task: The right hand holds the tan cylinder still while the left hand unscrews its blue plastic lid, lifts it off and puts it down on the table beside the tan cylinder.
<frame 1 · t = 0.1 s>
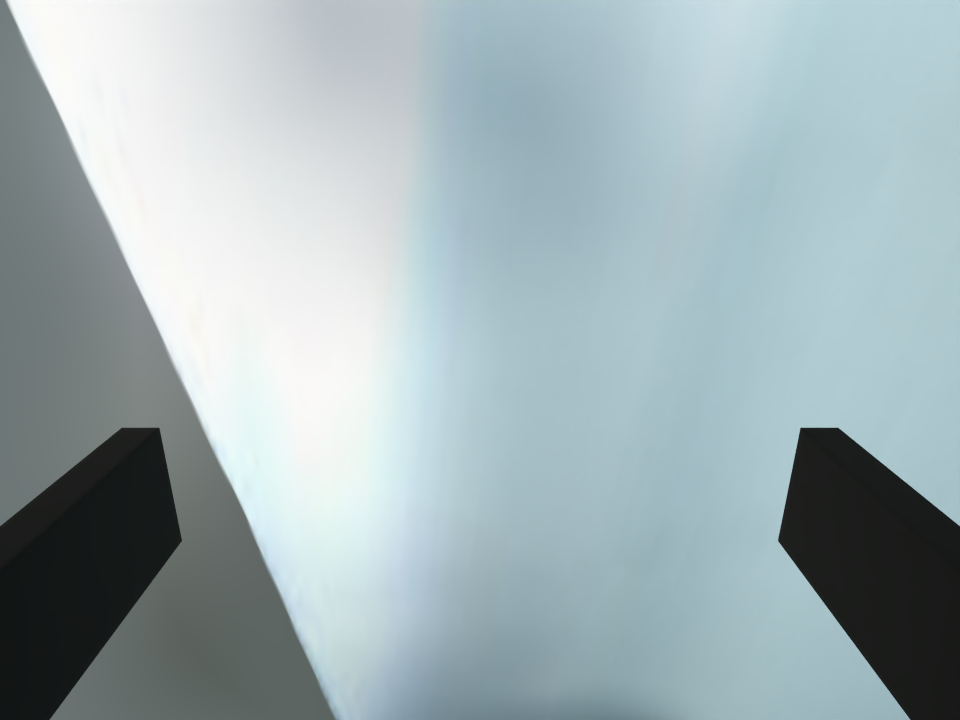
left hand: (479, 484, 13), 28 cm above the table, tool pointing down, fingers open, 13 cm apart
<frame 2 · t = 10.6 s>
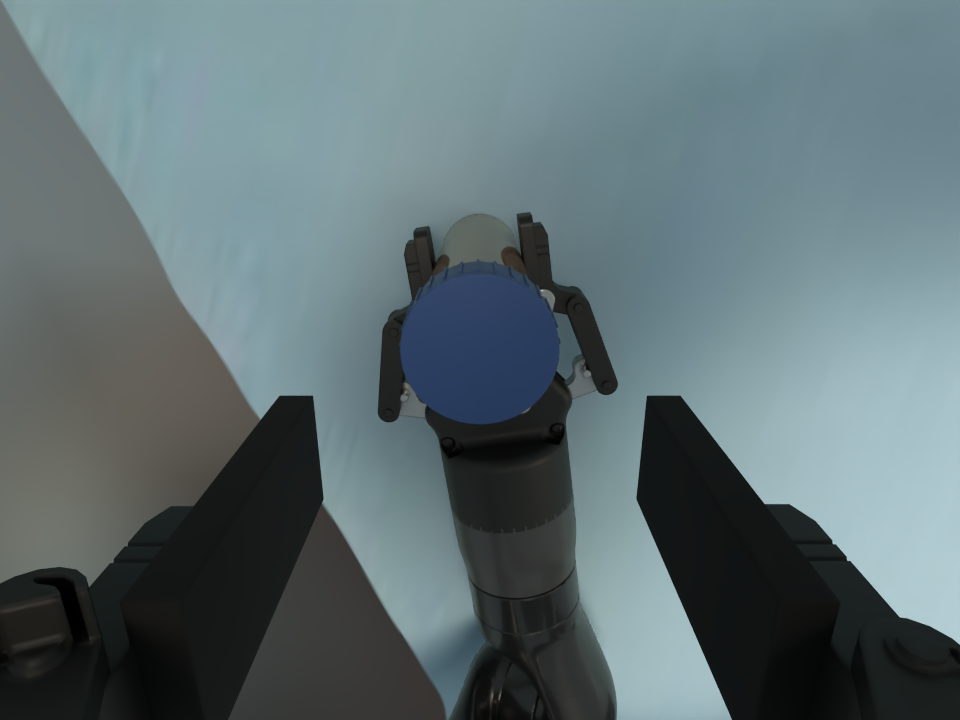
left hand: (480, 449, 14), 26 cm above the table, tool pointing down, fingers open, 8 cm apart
right hand: (472, 223, 32), fingers closed on tan cylinder, 4 cm apart
tan cylinder: (479, 252, 39), on the table, touching right hand
lid: (479, 349, 21), point 19 cm above the table, screwed on, not yet turned
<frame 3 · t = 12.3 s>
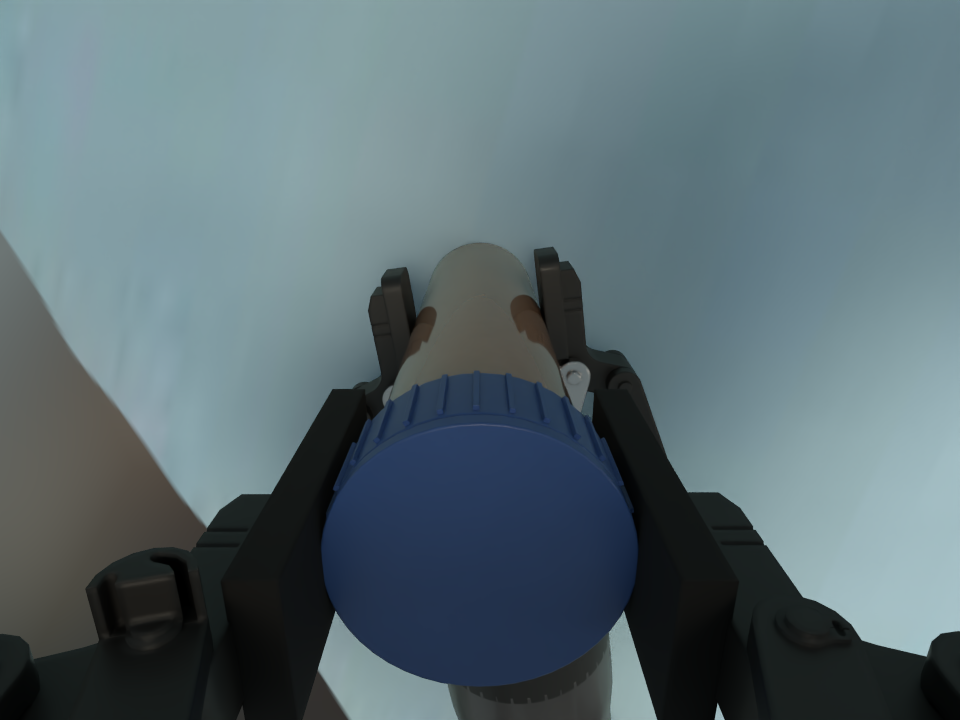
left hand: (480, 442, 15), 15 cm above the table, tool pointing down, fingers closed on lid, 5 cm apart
tan cylinder: (480, 294, 28), on the table, touching right hand
lid: (479, 553, 11), point 19 cm above the table, screwed on, not yet turned, touching left hand
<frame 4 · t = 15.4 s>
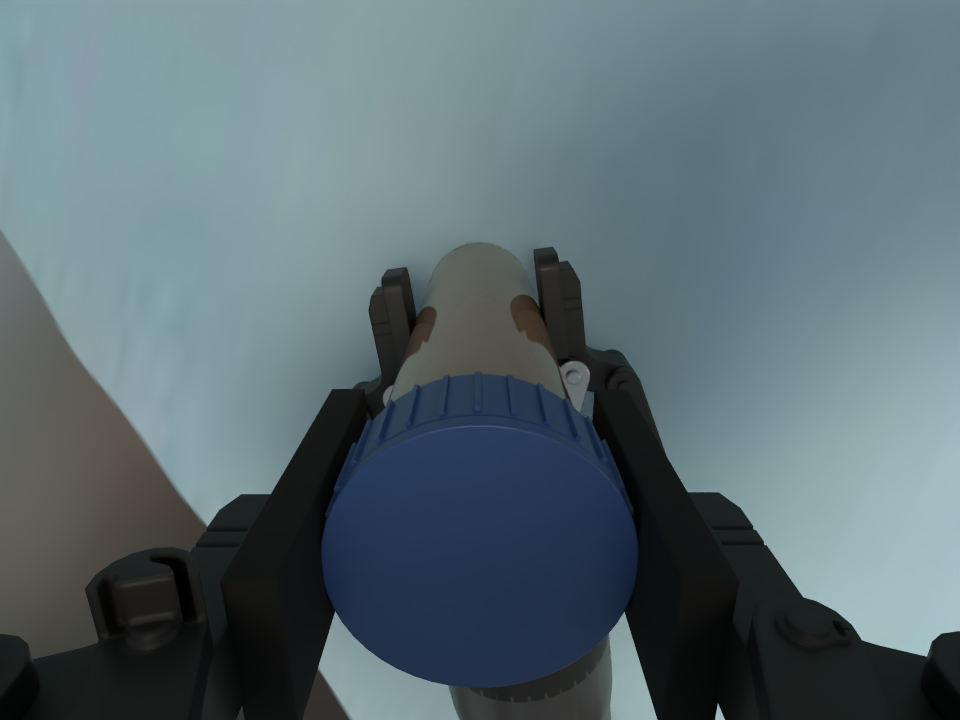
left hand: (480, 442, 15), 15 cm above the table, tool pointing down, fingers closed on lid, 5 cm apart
tan cylinder: (479, 293, 28), on the table, touching right hand
lid: (479, 555, 11), point 19 cm above the table, turned 86° so far, risen 0.1 cm, still on its thread, touching left hand
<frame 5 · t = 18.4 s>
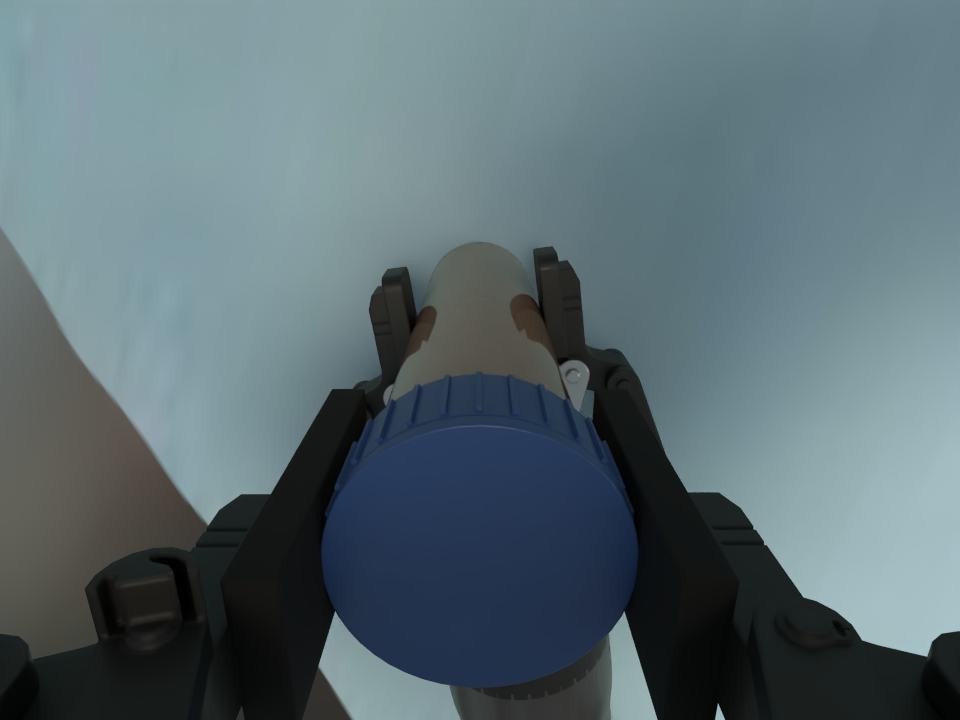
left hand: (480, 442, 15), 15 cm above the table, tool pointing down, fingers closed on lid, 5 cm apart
tan cylinder: (479, 293, 28), on the table, touching right hand
lid: (479, 555, 11), point 19 cm above the table, turned 173° so far, risen 0.2 cm, still on its thread, touching left hand
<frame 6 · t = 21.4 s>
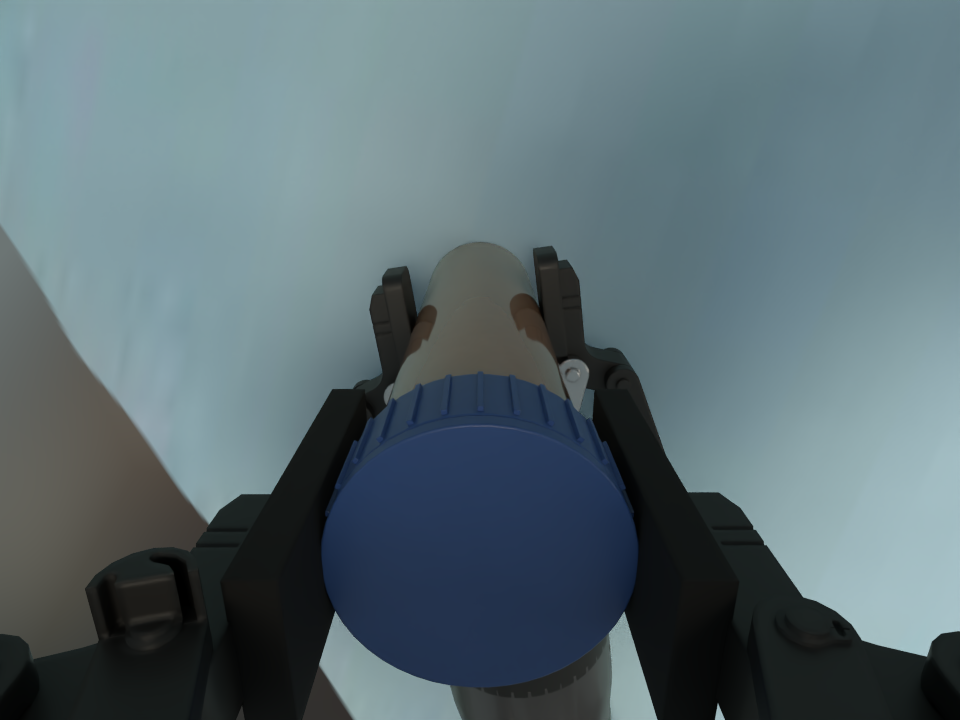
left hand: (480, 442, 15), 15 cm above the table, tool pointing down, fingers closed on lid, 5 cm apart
tan cylinder: (479, 292, 29), on the table, touching right hand
lid: (479, 554, 11), point 19 cm above the table, turned 259° so far, risen 0.3 cm, still on its thread, touching left hand
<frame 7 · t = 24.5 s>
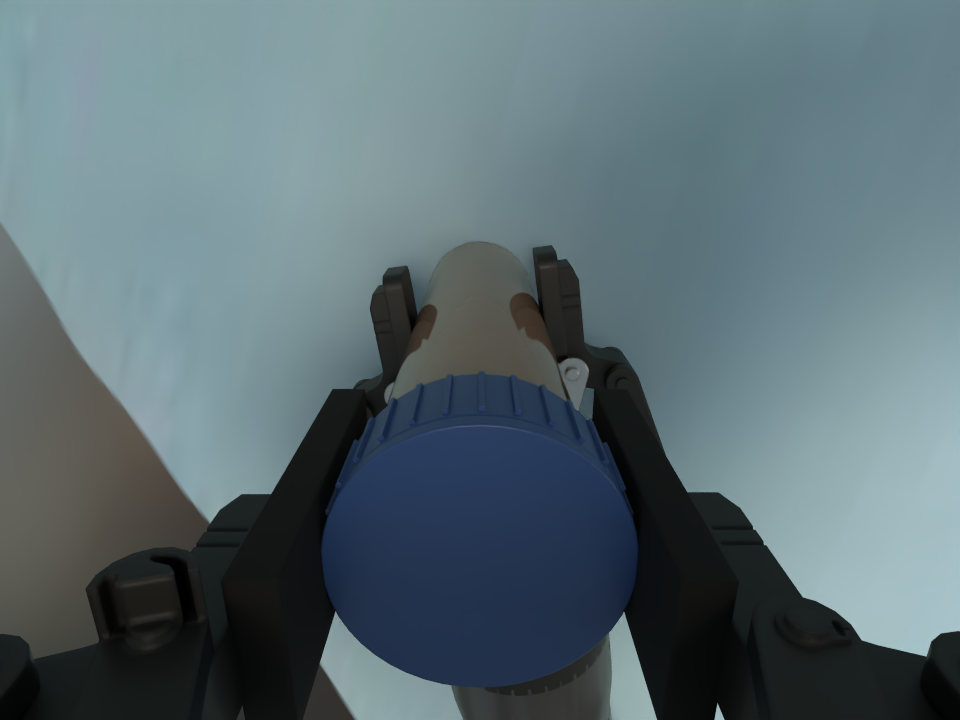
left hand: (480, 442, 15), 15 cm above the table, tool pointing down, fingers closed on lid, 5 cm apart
tan cylinder: (479, 292, 29), on the table, touching right hand
lid: (479, 554, 11), point 19 cm above the table, turned 346° so far, risen 0.4 cm, still on its thread, touching left hand
when the left hand's fingers open (0 cm above the table, at t = 34.4 s): lid drops 3 cm, point 2 cm above the table.
when the right hand's fingers open (6 cm above the table, at t = 35.0 s): tan cylinder stays where it is, on the table.
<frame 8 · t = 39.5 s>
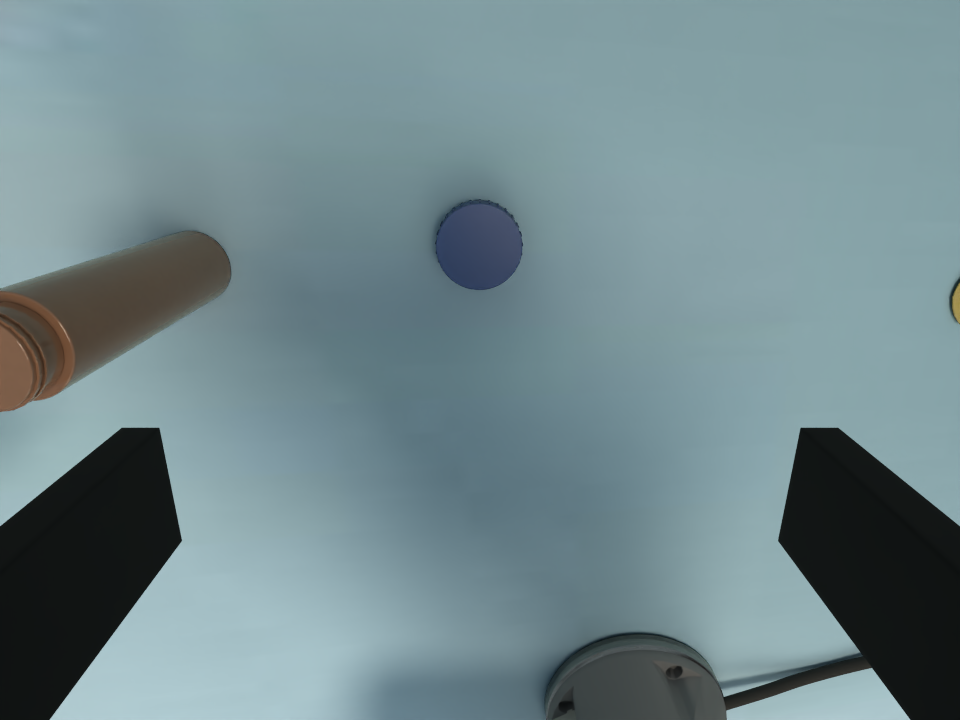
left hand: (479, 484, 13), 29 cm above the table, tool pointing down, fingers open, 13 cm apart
tan cylinder: (195, 266, 41), on the table
lid: (479, 246, 38), point 2 cm above the table, off its thread
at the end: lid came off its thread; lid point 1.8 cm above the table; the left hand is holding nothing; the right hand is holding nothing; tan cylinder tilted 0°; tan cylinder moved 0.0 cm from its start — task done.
